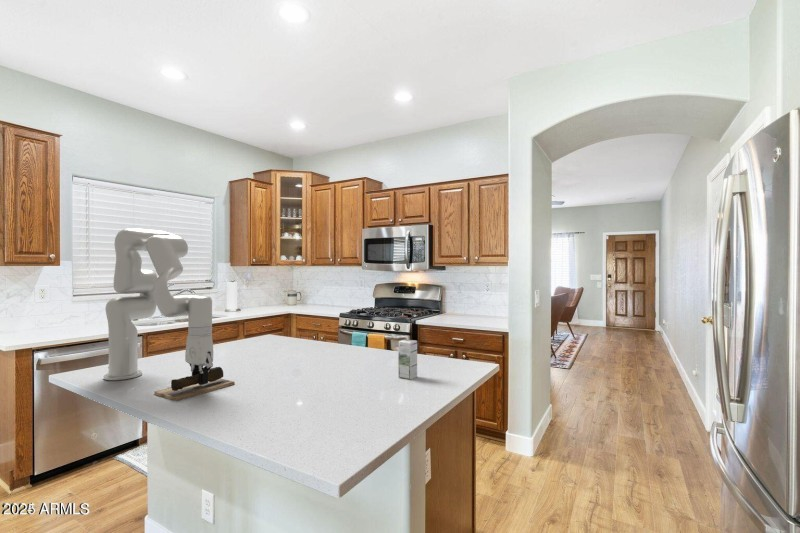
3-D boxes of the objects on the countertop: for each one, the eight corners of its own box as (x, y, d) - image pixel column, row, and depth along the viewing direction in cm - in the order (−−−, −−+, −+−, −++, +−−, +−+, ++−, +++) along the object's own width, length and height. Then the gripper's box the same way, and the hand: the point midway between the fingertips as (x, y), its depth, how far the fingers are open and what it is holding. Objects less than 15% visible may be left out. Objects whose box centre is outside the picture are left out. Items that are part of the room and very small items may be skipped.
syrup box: (417, 376, 162) (417, 340, 162) (410, 380, 157) (410, 342, 157) (405, 374, 165) (405, 338, 165) (397, 377, 160) (397, 341, 160)
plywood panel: (154, 394, 139) (154, 390, 139) (212, 379, 158) (212, 376, 158) (175, 400, 132) (175, 396, 132) (234, 384, 151) (234, 380, 151)
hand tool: (176, 392, 134) (176, 378, 134) (170, 390, 137) (170, 376, 137) (227, 379, 151) (227, 366, 151) (221, 377, 153) (221, 365, 153)
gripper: (176, 330, 145) (176, 382, 145) (204, 334, 136) (204, 389, 136) (196, 327, 151) (196, 377, 151) (224, 331, 143) (224, 384, 143)
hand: (199, 382), depth 144 cm, fingers closed on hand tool, 3 cm apart
